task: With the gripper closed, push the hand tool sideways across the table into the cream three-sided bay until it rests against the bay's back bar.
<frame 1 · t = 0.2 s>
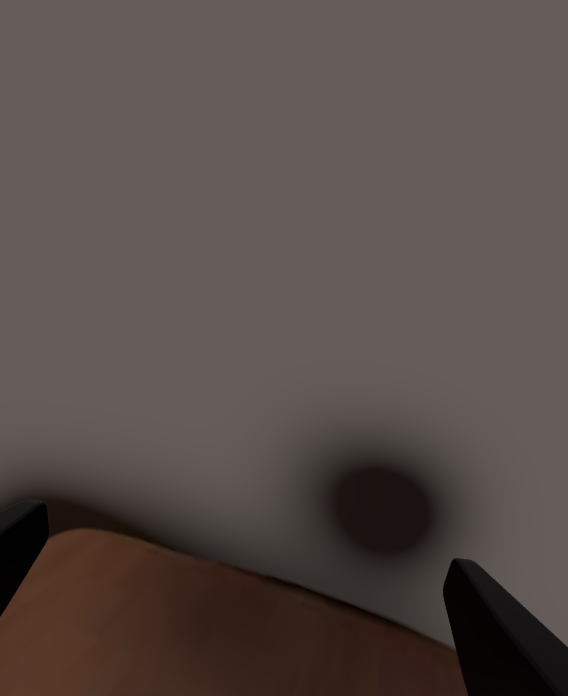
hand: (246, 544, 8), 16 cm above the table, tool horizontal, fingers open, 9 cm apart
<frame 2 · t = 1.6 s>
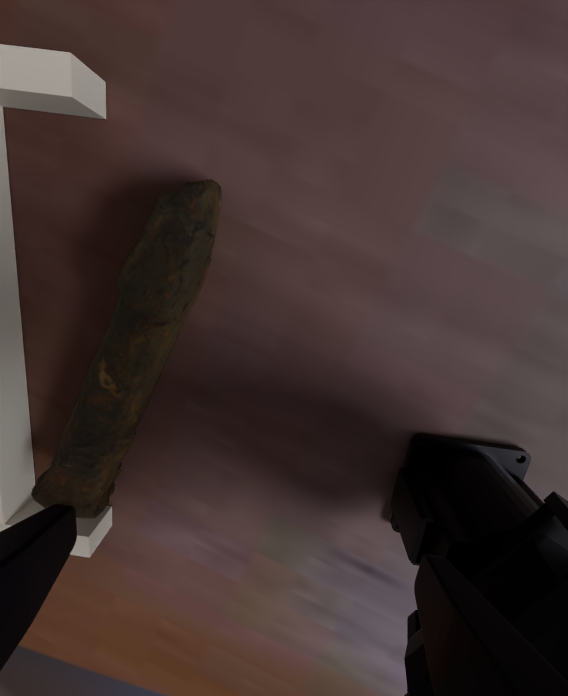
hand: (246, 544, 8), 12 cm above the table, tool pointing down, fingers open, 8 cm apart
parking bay: (52, 335, 19), on the table
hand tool: (142, 344, 20), on the table
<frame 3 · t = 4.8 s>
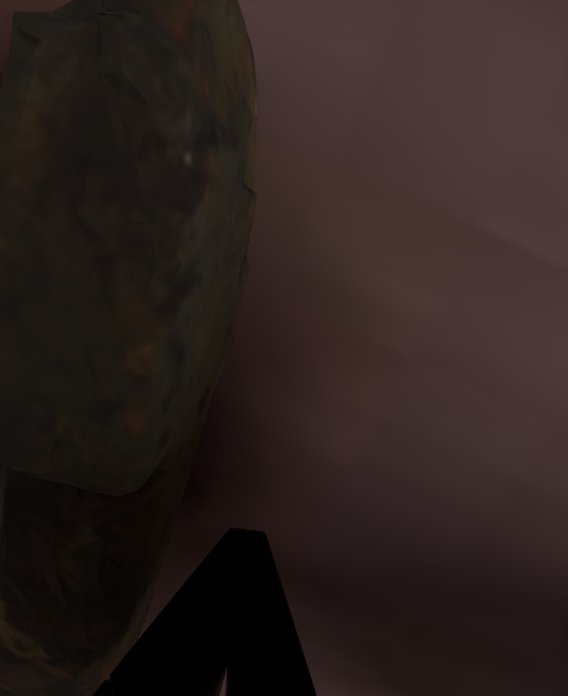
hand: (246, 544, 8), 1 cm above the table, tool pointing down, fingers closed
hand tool: (122, 467, 9), on the table, touching gripper
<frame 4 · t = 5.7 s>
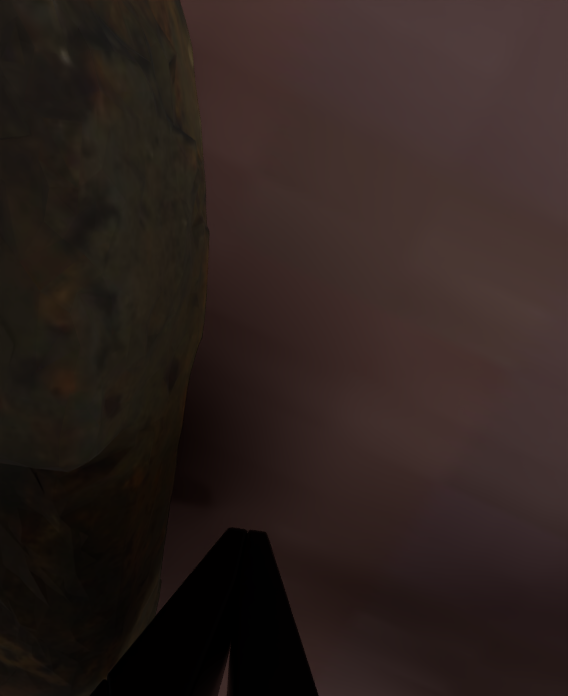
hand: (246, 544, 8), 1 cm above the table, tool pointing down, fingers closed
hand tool: (114, 466, 9), on the table, touching gripper
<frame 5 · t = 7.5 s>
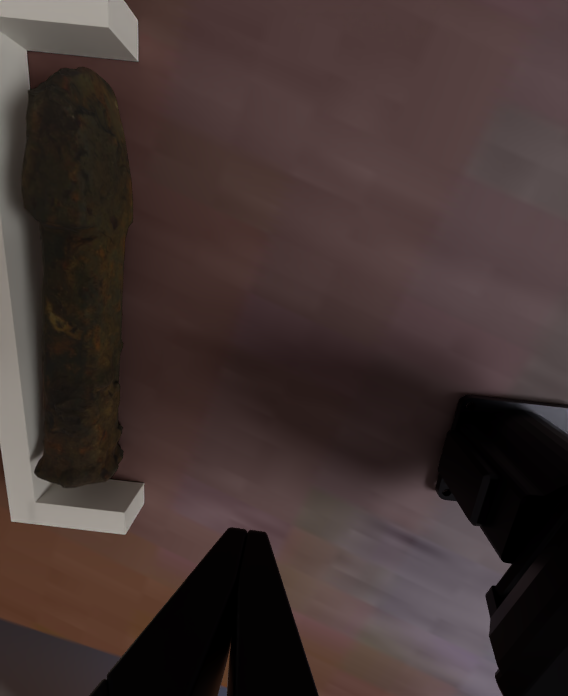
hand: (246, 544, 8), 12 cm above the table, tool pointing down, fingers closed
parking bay: (81, 301, 18), on the table
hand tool: (99, 294, 19), on the table
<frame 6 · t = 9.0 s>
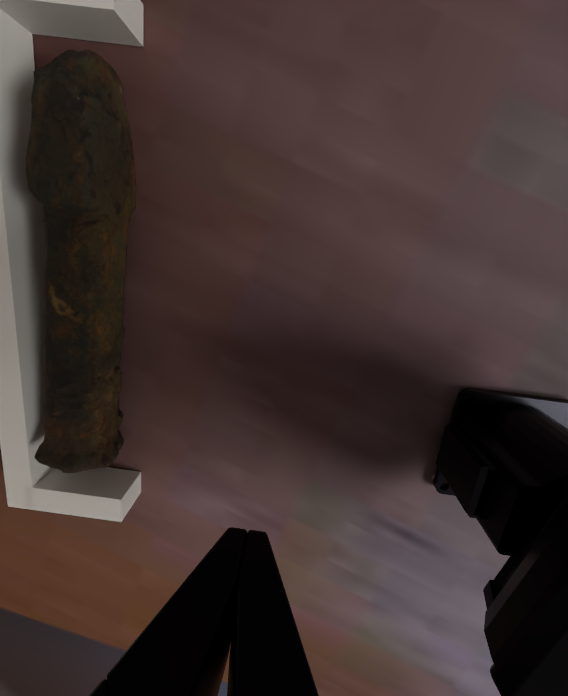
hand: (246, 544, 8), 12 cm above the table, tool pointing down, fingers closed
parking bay: (81, 287, 19), on the table
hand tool: (102, 281, 19), on the table
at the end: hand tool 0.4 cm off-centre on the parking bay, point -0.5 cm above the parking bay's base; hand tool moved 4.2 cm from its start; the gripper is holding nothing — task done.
